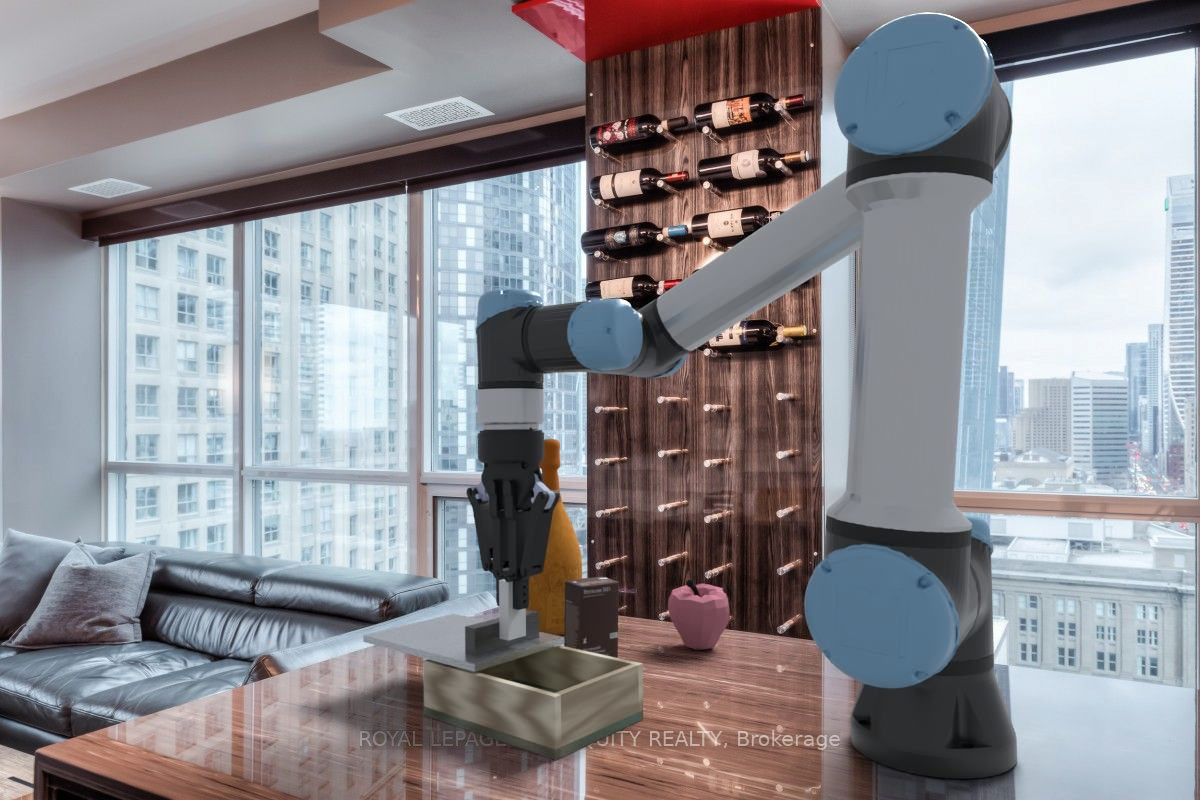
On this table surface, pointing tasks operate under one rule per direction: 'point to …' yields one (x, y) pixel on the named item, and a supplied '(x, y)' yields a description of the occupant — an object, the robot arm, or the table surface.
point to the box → (592, 615)
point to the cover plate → (464, 641)
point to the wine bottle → (555, 554)
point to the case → (539, 699)
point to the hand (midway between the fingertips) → (512, 636)
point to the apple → (699, 614)
